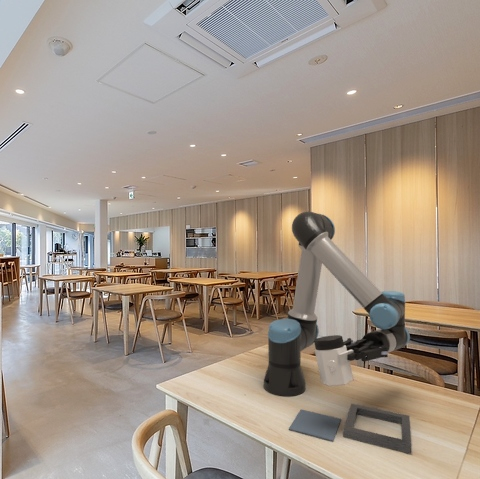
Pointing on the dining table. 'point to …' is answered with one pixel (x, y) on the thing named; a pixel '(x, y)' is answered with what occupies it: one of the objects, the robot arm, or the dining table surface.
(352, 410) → the frame
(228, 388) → the dining table surface
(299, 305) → the robot arm
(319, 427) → the mat
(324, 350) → the jar
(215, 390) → the dining table surface
